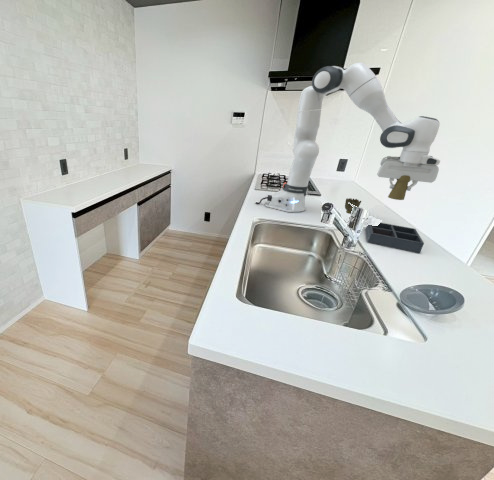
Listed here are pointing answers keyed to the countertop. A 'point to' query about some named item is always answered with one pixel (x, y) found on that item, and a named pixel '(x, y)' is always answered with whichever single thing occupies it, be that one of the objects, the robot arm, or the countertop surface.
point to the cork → (400, 188)
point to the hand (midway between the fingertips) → (399, 189)
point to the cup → (348, 206)
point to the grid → (395, 237)
